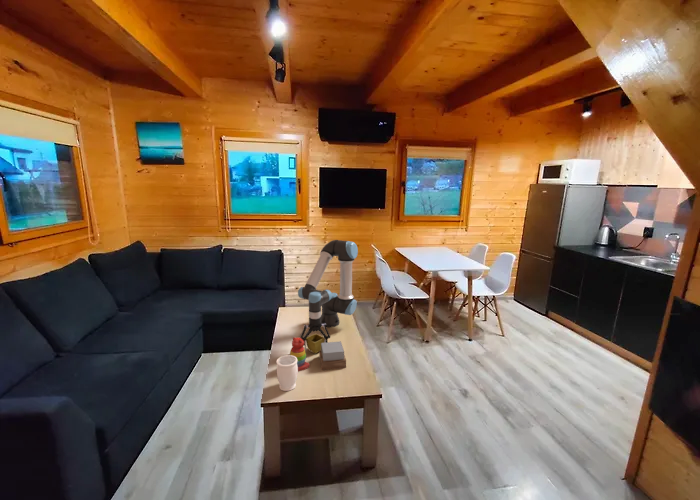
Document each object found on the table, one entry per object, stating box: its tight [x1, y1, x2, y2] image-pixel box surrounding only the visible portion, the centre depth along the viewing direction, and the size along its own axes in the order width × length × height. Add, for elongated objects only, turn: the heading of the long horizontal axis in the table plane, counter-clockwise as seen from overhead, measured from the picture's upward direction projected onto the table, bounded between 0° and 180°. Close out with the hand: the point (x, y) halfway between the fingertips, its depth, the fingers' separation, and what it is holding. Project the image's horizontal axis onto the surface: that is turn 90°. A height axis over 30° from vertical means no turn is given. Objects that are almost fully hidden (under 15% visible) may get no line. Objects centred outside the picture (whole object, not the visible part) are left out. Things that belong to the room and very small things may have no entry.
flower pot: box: [306, 333, 325, 354], centre depth 196 cm, size 9×9×9 cm
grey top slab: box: [321, 340, 345, 361], centre depth 184 cm, size 12×12×5 cm
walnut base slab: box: [318, 350, 347, 371], centre depth 185 cm, size 14×14×5 cm
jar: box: [276, 354, 299, 392], centre depth 161 cm, size 11×10×15 cm
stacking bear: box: [289, 337, 311, 372], centre depth 179 cm, size 11×10×18 cm
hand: (315, 349), depth 197 cm, fingers closed on flower pot, 12 cm apart
